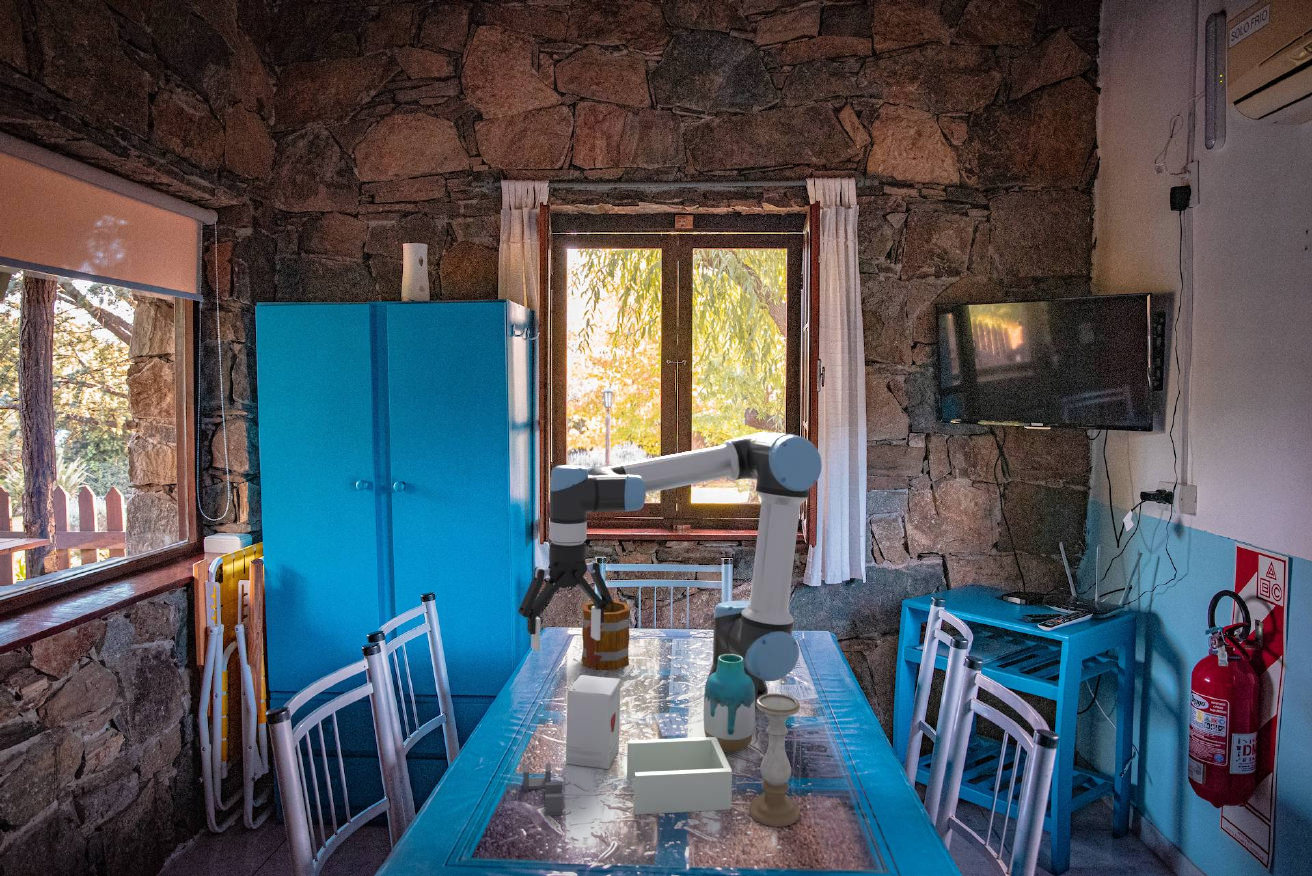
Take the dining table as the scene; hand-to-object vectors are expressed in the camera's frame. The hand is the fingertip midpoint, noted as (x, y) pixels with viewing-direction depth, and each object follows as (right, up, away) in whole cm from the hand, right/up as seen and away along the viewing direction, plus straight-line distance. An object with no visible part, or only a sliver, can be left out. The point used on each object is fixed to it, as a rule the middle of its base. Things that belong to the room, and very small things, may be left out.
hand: (566, 643), depth 159 cm
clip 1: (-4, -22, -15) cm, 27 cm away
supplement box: (+6, -22, -3) cm, 23 cm away
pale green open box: (+22, -23, -16) cm, 36 cm away
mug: (+4, -18, +47) cm, 50 cm away
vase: (+33, -22, +1) cm, 40 cm away
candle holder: (+39, -24, -23) cm, 51 cm away
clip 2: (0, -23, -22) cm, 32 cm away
